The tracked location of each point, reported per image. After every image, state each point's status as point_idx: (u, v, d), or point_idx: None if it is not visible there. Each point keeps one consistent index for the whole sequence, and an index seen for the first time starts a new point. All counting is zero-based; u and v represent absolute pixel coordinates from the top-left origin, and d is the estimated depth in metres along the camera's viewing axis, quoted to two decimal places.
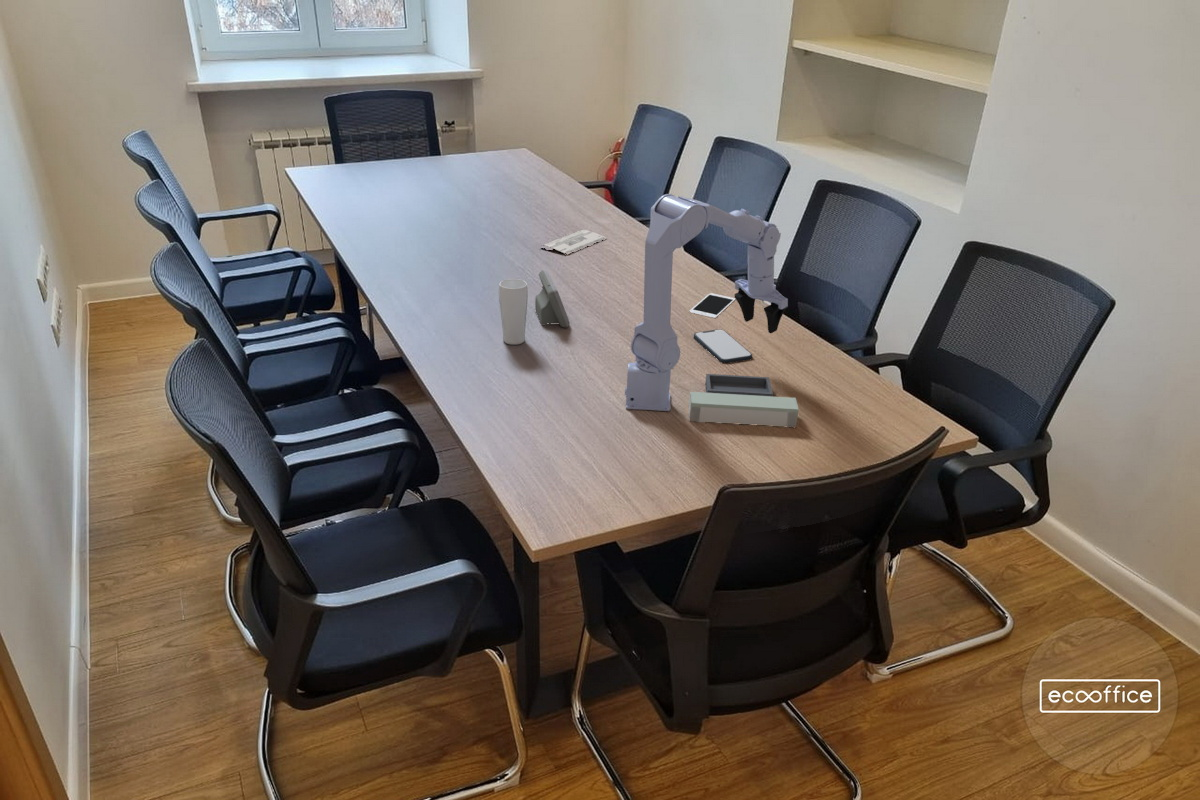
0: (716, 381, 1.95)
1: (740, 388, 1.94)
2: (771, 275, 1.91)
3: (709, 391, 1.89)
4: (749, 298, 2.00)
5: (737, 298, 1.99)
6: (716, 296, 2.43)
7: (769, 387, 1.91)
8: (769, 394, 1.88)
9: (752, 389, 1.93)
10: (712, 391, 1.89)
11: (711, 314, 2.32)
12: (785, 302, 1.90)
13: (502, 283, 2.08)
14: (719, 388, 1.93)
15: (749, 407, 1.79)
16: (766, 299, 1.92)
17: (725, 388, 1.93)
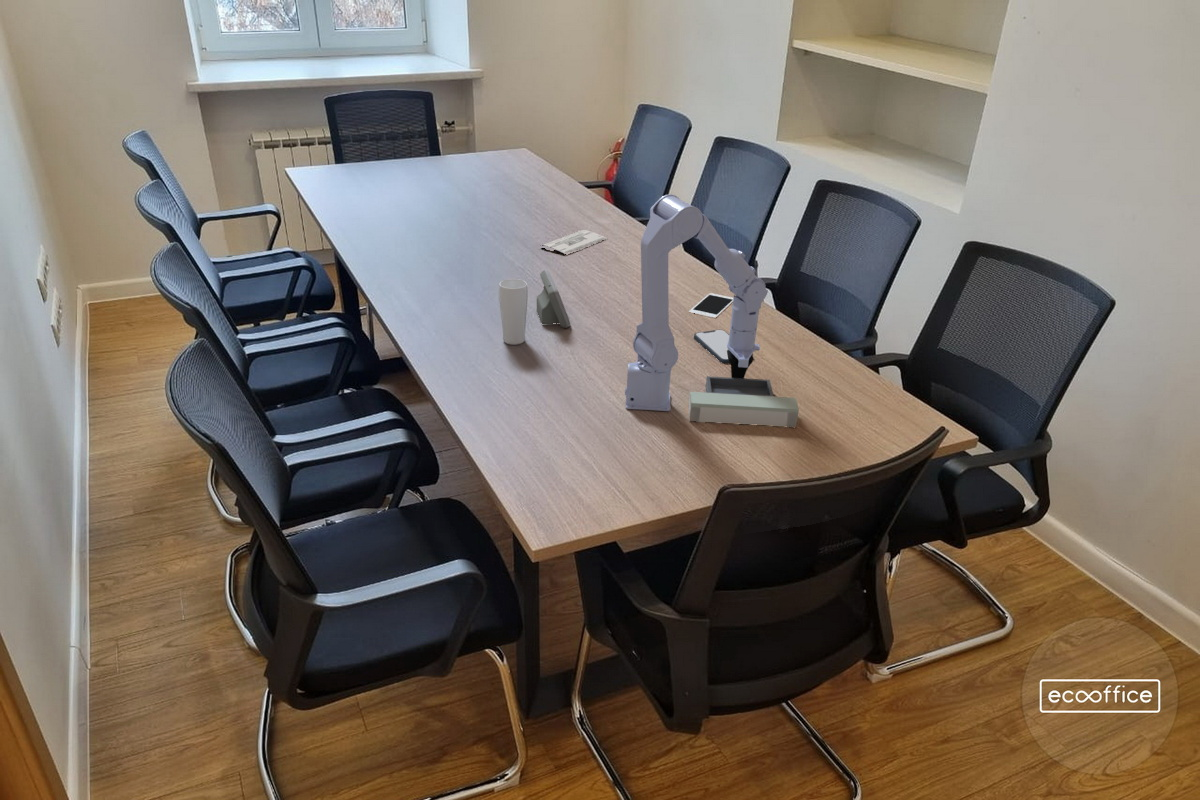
0: (716, 384, 1.94)
1: (741, 390, 1.93)
2: (746, 332, 1.87)
3: None
4: None
5: None
6: (716, 296, 2.43)
7: (770, 389, 1.90)
8: None
9: (753, 392, 1.92)
10: None
11: (711, 314, 2.32)
12: (744, 361, 1.85)
13: (502, 283, 2.08)
14: (720, 391, 1.92)
15: (749, 407, 1.79)
16: (733, 353, 1.88)
17: (726, 391, 1.92)
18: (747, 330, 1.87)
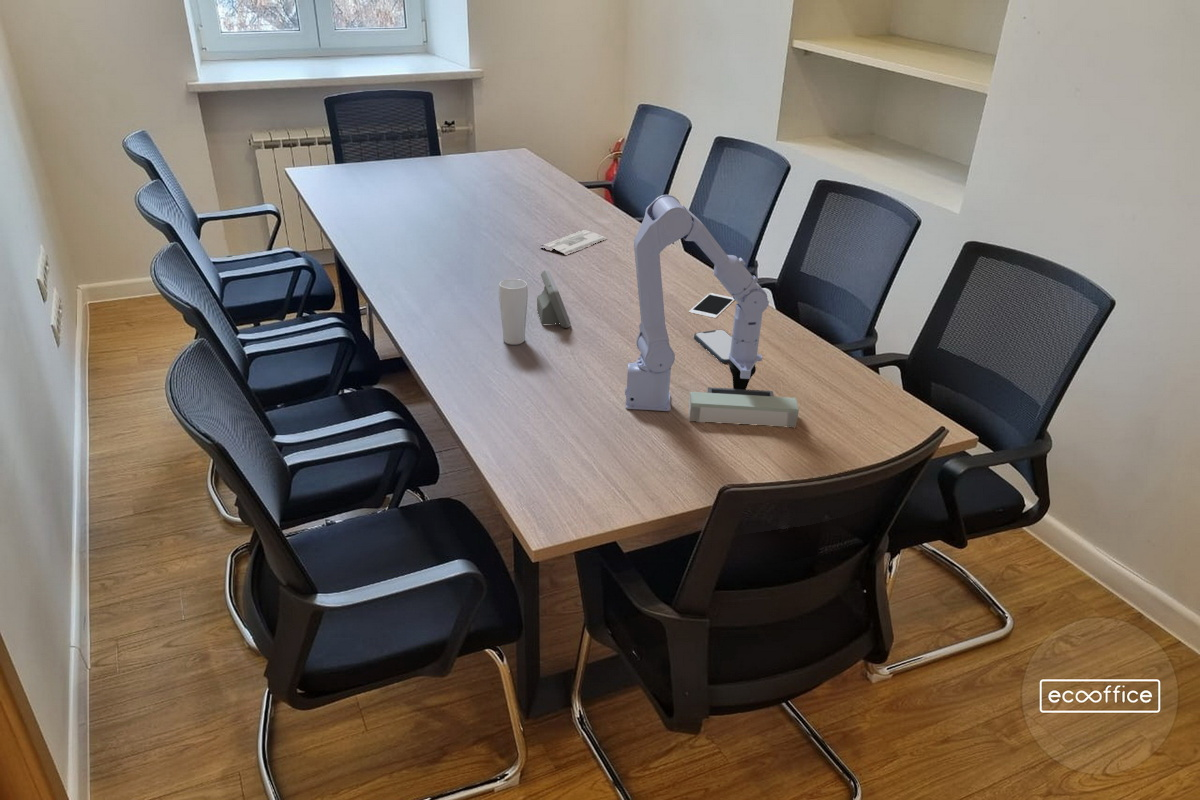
0: None
1: None
2: (748, 342, 1.82)
3: None
4: None
5: None
6: (716, 296, 2.43)
7: None
8: None
9: None
10: None
11: (711, 314, 2.32)
12: (746, 373, 1.81)
13: (502, 283, 2.08)
14: None
15: (749, 407, 1.79)
16: (735, 363, 1.84)
17: None
18: (746, 340, 1.82)
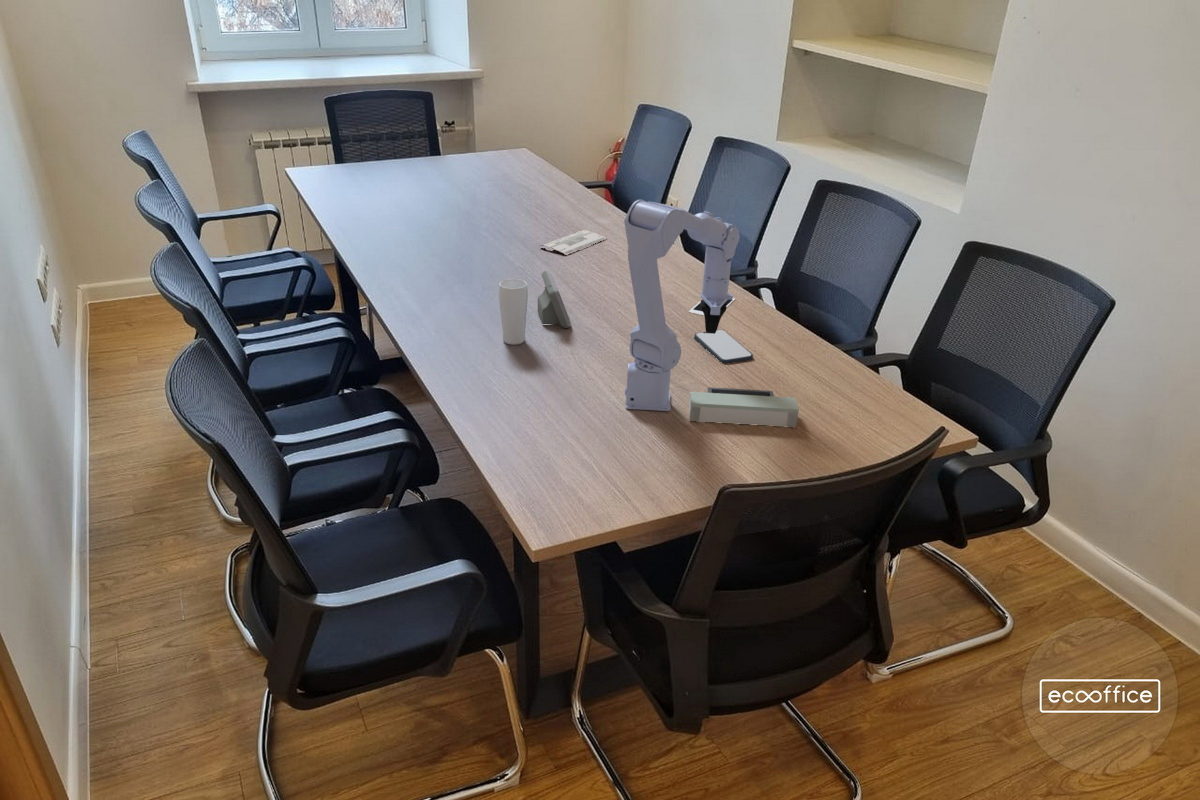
0: None
1: None
2: (719, 280, 1.89)
3: None
4: None
5: None
6: None
7: None
8: None
9: None
10: None
11: None
12: (716, 309, 1.87)
13: (502, 283, 2.08)
14: None
15: (749, 407, 1.79)
16: (706, 301, 1.90)
17: None
18: (725, 278, 1.89)
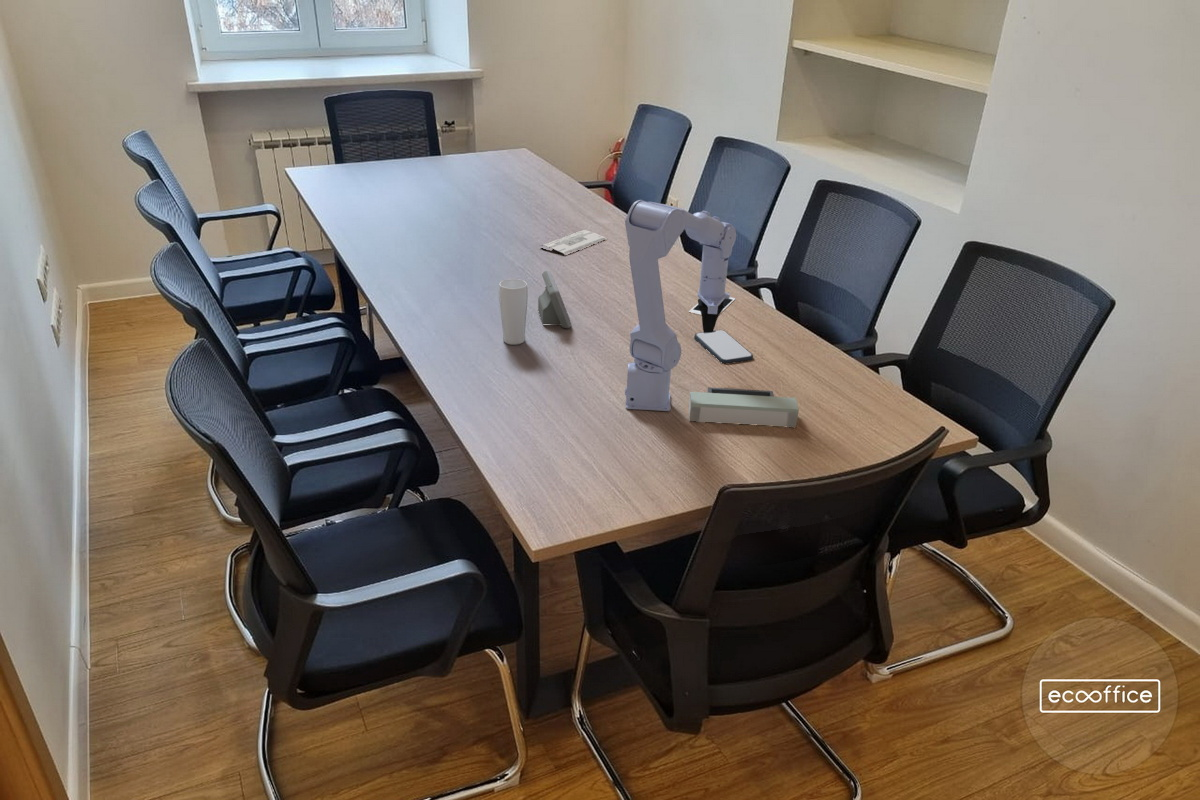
0: None
1: None
2: (716, 279, 1.89)
3: None
4: None
5: None
6: None
7: None
8: None
9: None
10: None
11: None
12: (713, 308, 1.88)
13: (502, 283, 2.08)
14: None
15: (749, 407, 1.79)
16: (703, 300, 1.91)
17: None
18: (722, 277, 1.89)
